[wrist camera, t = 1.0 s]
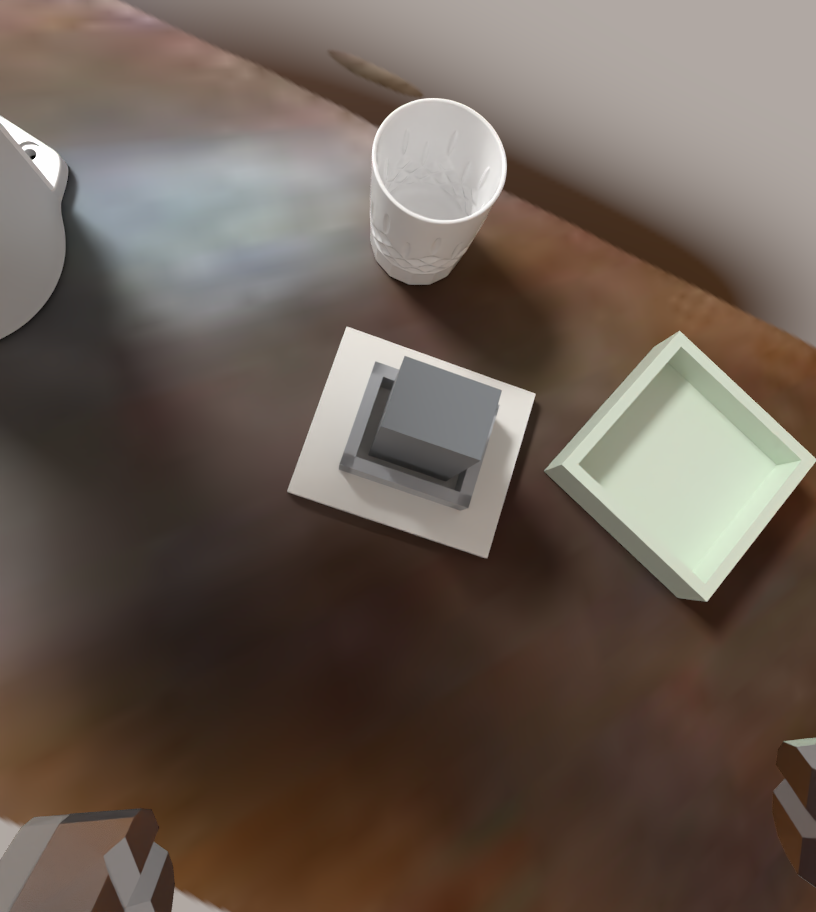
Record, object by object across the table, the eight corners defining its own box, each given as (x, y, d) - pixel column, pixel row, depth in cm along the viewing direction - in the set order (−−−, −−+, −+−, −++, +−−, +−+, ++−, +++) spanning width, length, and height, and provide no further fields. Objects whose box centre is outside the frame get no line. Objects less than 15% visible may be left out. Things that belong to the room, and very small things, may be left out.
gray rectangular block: (368, 455, 42) (380, 425, 33) (387, 397, 43) (405, 352, 33) (445, 481, 43) (480, 460, 33) (463, 424, 44) (503, 387, 34)
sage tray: (543, 471, 45) (561, 464, 42) (654, 347, 47) (679, 330, 44) (677, 597, 45) (706, 601, 41) (781, 466, 47) (816, 459, 44)
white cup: (429, 315, 46) (457, 250, 36) (340, 250, 46) (344, 167, 36) (489, 235, 47) (532, 152, 37) (403, 172, 47) (423, 72, 37)
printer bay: (288, 492, 42) (284, 487, 39) (346, 331, 45) (347, 313, 41) (483, 558, 43) (497, 558, 40) (531, 397, 46) (548, 384, 42)
